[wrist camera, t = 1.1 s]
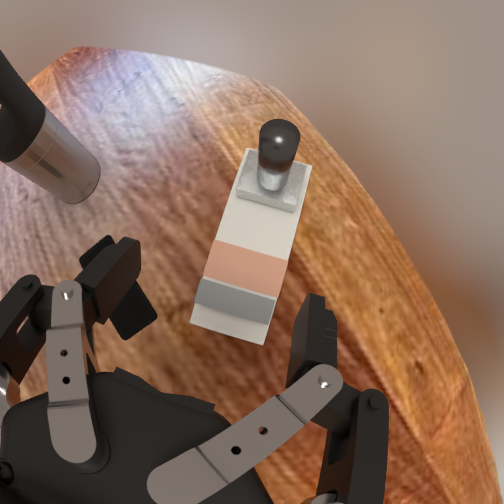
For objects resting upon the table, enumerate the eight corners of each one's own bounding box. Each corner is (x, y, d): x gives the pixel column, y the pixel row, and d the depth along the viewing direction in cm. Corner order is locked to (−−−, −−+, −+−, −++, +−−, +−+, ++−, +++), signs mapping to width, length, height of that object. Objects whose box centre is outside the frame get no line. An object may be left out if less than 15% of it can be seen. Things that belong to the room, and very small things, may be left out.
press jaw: (249, 159, 40) (249, 103, 27) (303, 174, 40) (324, 123, 27) (236, 196, 39) (231, 149, 26) (293, 212, 39) (313, 171, 26)
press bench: (245, 153, 42) (245, 133, 37) (310, 171, 42) (318, 153, 36) (191, 321, 38) (181, 325, 32) (263, 343, 38) (265, 350, 32)
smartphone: (108, 232, 40) (158, 317, 38) (110, 234, 41) (160, 316, 39) (77, 258, 39) (123, 342, 37) (79, 259, 40) (125, 341, 38)
